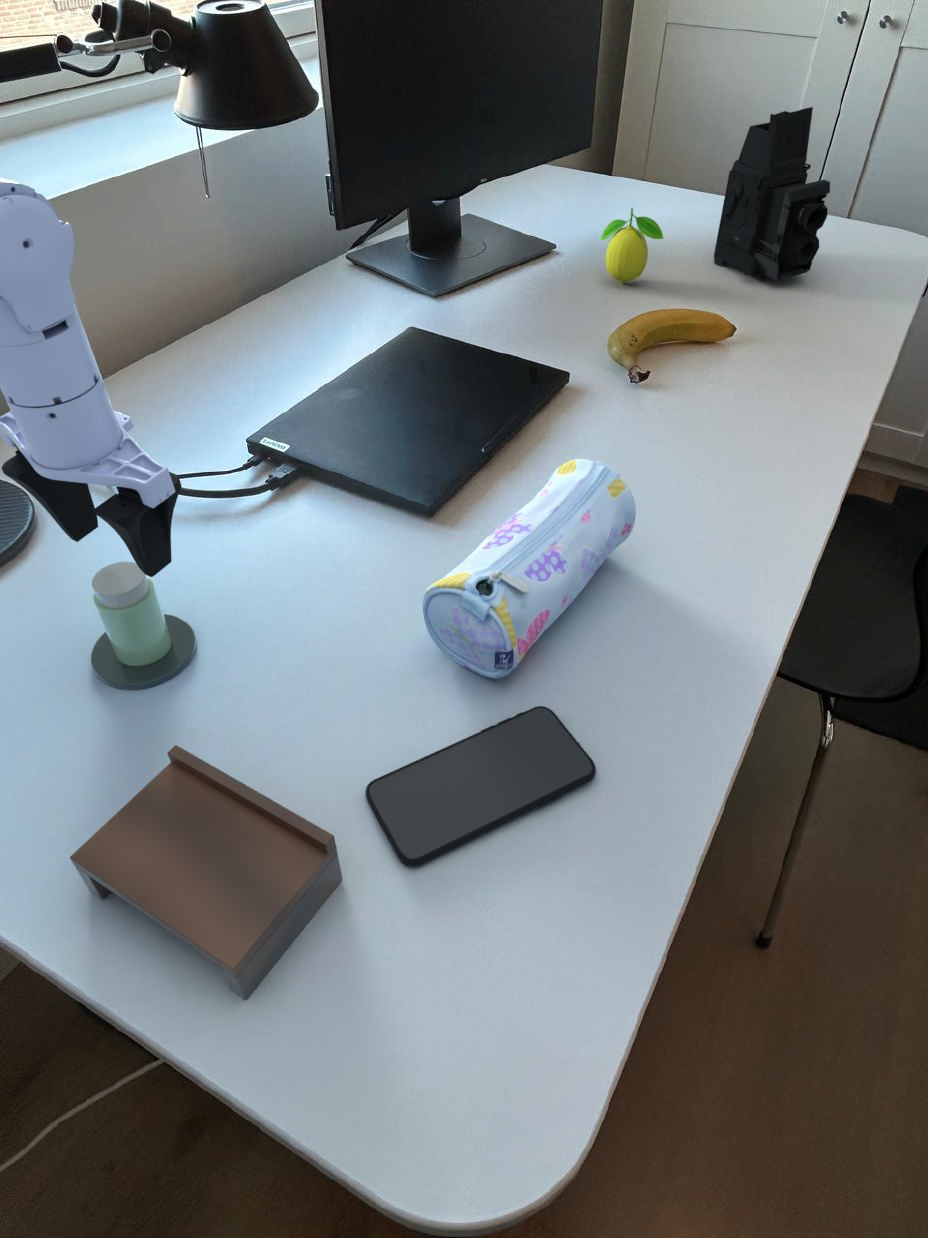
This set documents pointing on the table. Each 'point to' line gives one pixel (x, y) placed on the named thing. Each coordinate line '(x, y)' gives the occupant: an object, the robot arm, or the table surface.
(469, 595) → the pencil case
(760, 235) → the camera
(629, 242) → the lemon
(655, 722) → the table surface
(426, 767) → the smartphone
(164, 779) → the shelf
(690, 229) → the table surface
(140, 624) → the shaker
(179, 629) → the coaster
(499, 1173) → the table surface
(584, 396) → the table surface
